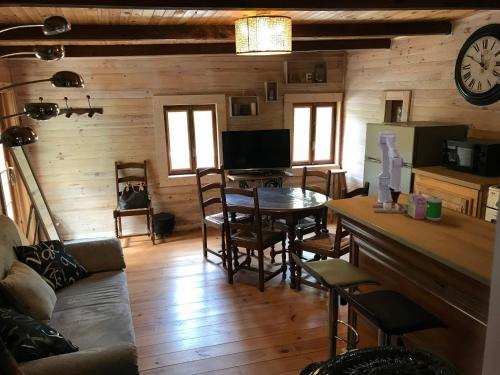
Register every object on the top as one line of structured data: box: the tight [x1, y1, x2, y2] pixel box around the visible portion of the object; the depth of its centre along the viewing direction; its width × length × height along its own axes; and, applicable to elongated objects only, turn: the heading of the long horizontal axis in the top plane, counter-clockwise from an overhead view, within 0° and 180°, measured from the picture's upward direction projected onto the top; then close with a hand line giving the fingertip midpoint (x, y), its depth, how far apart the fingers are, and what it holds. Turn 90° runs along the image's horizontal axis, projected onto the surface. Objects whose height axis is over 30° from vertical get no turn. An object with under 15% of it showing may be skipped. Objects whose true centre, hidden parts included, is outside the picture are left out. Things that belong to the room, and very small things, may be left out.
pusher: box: [394, 203, 400, 211], centre depth 242 cm, size 10×1×2 cm, turn 167°
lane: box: [372, 204, 409, 215], centre depth 243 cm, size 13×18×2 cm
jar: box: [382, 199, 393, 211], centre depth 243 cm, size 5×5×6 cm
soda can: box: [425, 196, 443, 222], centre depth 222 cm, size 8×8×12 cm
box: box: [407, 193, 427, 220], centre depth 228 cm, size 10×6×12 cm, turn 179°
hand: (394, 201), depth 241 cm, fingers open, 7 cm apart
